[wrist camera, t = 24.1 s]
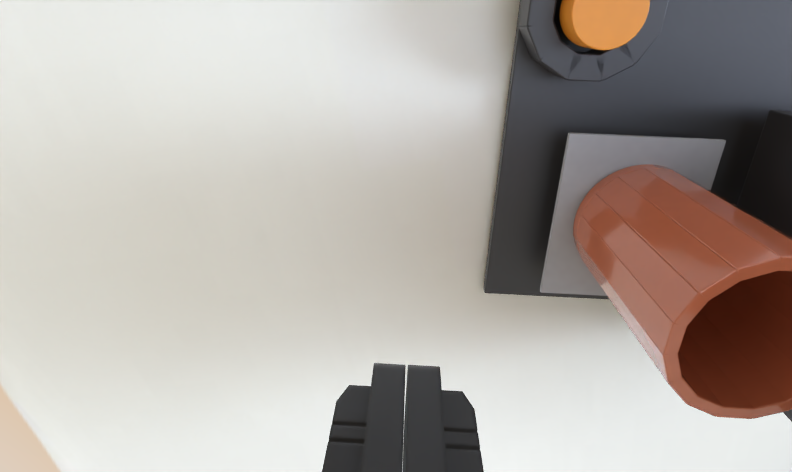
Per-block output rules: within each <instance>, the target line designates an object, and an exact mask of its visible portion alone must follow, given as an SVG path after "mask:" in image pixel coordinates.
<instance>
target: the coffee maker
mask: <svg viewBox="0 0 792 472" xmlns="http://www.w3.org/2000/svg"><path fill="white" fill-rule="evenodd" d="M725 143H726V140H723V139H704V138H682V137H660V136H638V135H616V134H594V133H572V132H569V133H568V136H567V142H566V147H565V153H564V158H563V164H562V169H561V175H560V180H559V186H558V191H557V197H556V202H555V208H554V213H553V219H552V224H551V230H550V235H549V241H548V246H547V252H546V257H545V263H544V268H543V274H542V279H541V285H540V292H541V293H560V294H580V295H600V296H607V295H606V293H605V292H604V290H603V289H602V287H601V286H600V285H599V283H598V282H597V280H596V279H595V277H594V276H593V275H592V273H591V272H590V270H589V269H588V267H587V266H586V264H585V263H584V262H583V260H582V258H581V256H580V254H579V252H578V250H577V248H576V245H575V242H574V237H573V226H574V219H575V216H576V213H577V210H578V208H579V205H580V204H581V202H582V200H583V199H584V197H585V196H586V195H587V193H588V192H589V191H590V190H591V189H592V188H593V187H594V186H595V185H596V184H597V183H598V182H599V181H601V180H602V179H604V178H605V177H607V176H608V175H610V174H612V173H614V172H616V171H618V170H621V169H623V168H626V167H630V166H635V165H642V164H653V165H660V166H664V167H668V168H670V169H673V170H675V171H677V172H678V173H680V174H682V175H684V176H686V177H688V178H690V179H692V180H693V181H695V182H697V183H699V184H700V185H702V186H704V187H705V188H707V189H709V190H711V187H712V184H713V181H714V178H715V175H716V172H717V168H718V165H719V162H720V159H721V156H722V152H723V149H724V146H725ZM737 206H738V207H740V208H742V209H743V210H745V211H747V212H748V213H750V214H752V215H754V216H755V217H757V218H759V219H760V220H762V221H764V222H766V223H767V224H769V225H771V226H773V227H774V228H776V229H778V230H779V231H781V232H783V233H785V234H786V235H788V236H790V237H791V238H792V111H780V110H770V111H769V113H768V116H767V119H766V122H765V124H764V127H763V130H762V133H761V136H760V139H759V142H758V145H757V148H756V151H755V154H754V157H753V159H752V162H751V165H750V168H749V171H748V174H747V177H746V180H745V183H744V186H743V189H742V192H741V195H740V197H739V200H738V203H737ZM783 413H784V414H785V415H786V416H787V417H788V418H789V419H790V420H791V421H792V410H791V409H790V410H789V411H785V412H783Z"/></svg>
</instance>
